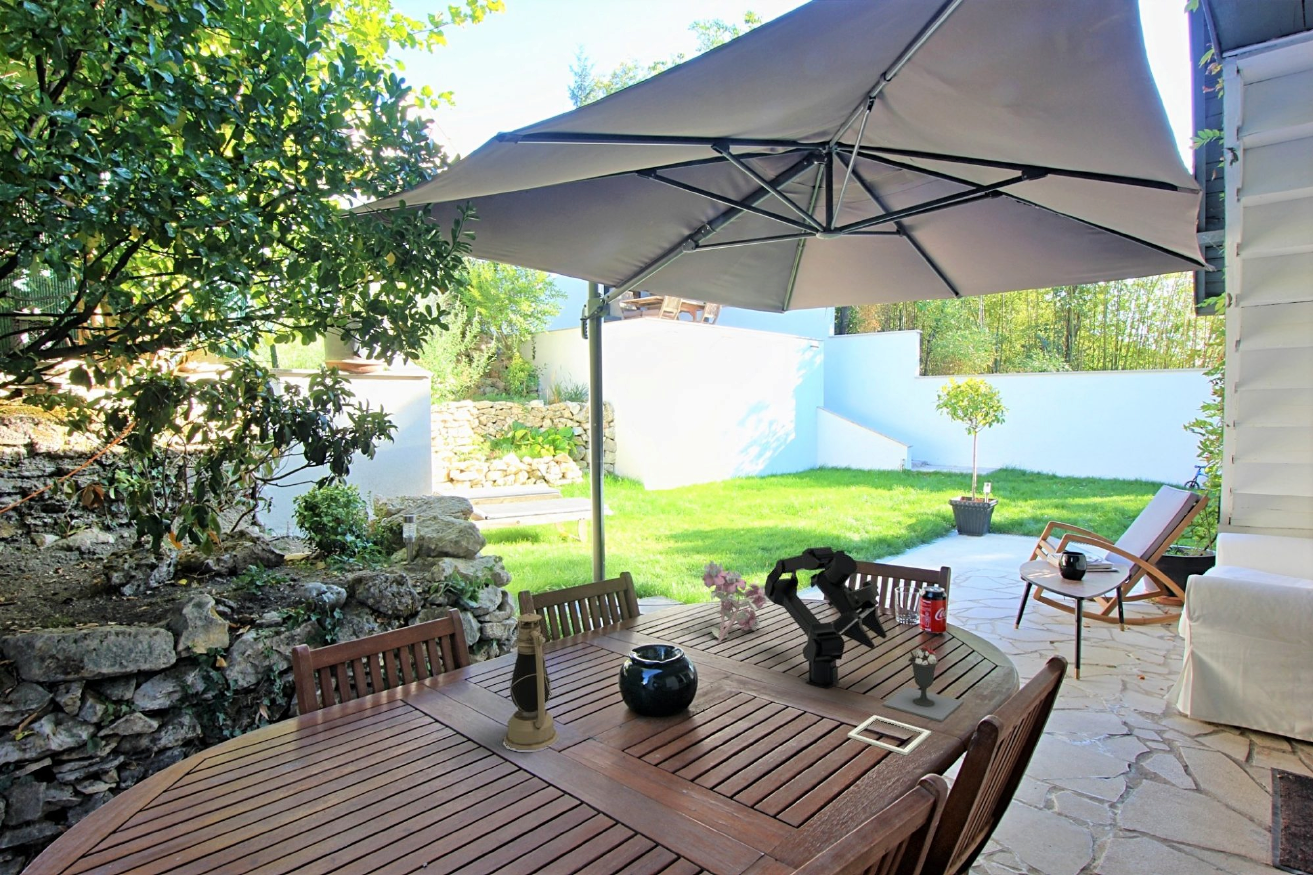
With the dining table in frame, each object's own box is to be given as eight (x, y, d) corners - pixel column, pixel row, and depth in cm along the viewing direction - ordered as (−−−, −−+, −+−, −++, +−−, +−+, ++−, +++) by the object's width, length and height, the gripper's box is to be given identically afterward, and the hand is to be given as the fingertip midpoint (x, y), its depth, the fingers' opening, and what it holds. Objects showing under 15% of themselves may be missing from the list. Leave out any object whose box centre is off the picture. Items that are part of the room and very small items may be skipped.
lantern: (570, 746, 153) (568, 605, 152) (515, 760, 147) (513, 613, 146) (544, 721, 166) (542, 590, 165) (493, 733, 160) (491, 597, 159)
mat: (882, 705, 173) (882, 703, 173) (906, 688, 184) (906, 686, 184) (941, 722, 164) (941, 719, 164) (963, 703, 174) (963, 701, 174)
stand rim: (847, 736, 157) (847, 734, 157) (874, 717, 167) (874, 714, 167) (906, 755, 148) (906, 752, 148) (931, 733, 158) (931, 731, 158)
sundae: (944, 704, 173) (945, 641, 172) (925, 710, 169) (925, 646, 169) (922, 694, 178) (922, 634, 178) (903, 700, 175) (903, 638, 174)
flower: (776, 644, 214) (778, 561, 224) (699, 636, 214) (705, 554, 224) (765, 653, 232) (767, 576, 242) (694, 646, 233) (699, 569, 243)
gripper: (844, 579, 172) (891, 633, 166) (870, 564, 188) (914, 614, 182) (813, 607, 177) (857, 660, 171) (841, 591, 192) (882, 639, 186)
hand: (879, 642), depth 178 cm, fingers open, 9 cm apart
